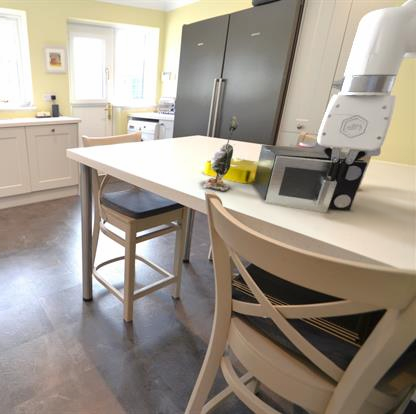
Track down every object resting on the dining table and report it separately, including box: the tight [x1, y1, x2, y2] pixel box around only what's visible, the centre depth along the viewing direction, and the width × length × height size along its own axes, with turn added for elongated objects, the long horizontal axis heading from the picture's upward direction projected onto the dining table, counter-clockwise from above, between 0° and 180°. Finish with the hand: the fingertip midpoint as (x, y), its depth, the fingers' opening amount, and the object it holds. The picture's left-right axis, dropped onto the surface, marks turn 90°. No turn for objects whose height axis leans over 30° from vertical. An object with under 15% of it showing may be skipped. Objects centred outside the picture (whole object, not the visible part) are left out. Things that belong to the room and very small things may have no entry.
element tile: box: [203, 156, 258, 184], centre depth 94 cm, size 15×15×5 cm
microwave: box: [252, 144, 367, 212], centre depth 73 cm, size 16×18×12 cm
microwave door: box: [264, 156, 341, 213], centre depth 64 cm, size 8×13×12 cm, turn 62°
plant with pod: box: [201, 115, 239, 192], centre depth 79 cm, size 8×11×20 cm
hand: (334, 180), depth 60 cm, fingers closed
